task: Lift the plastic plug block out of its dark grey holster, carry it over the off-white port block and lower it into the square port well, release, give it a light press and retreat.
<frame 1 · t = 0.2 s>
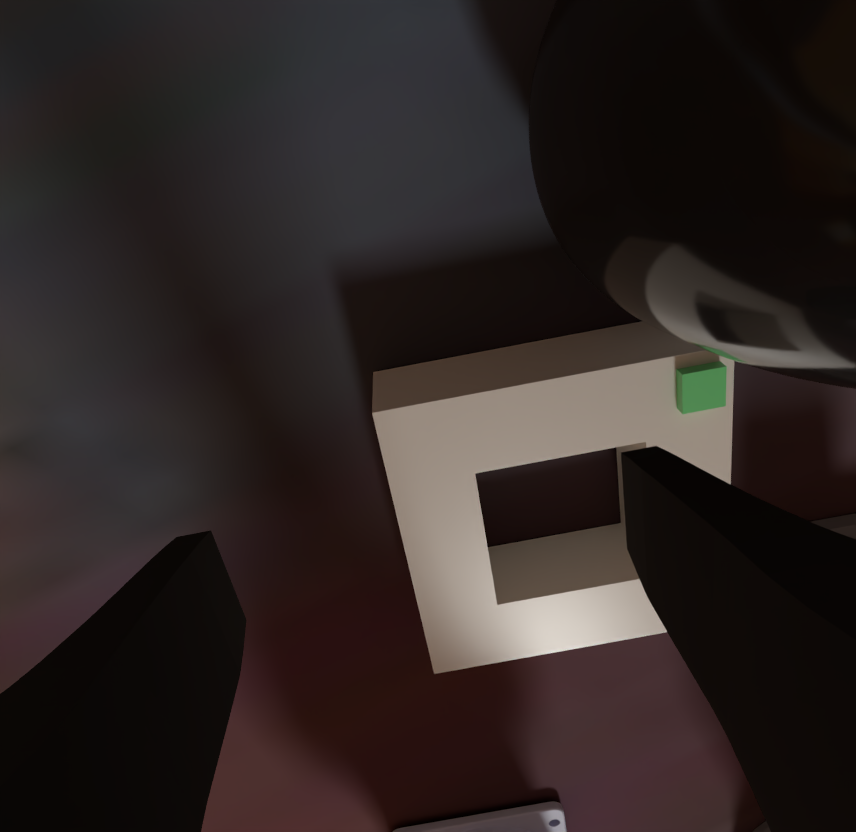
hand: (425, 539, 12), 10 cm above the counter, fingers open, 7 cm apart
port: (545, 477, 23), on the counter
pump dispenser: (684, 102, 18), on the counter
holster: (789, 606, 26), on the counter
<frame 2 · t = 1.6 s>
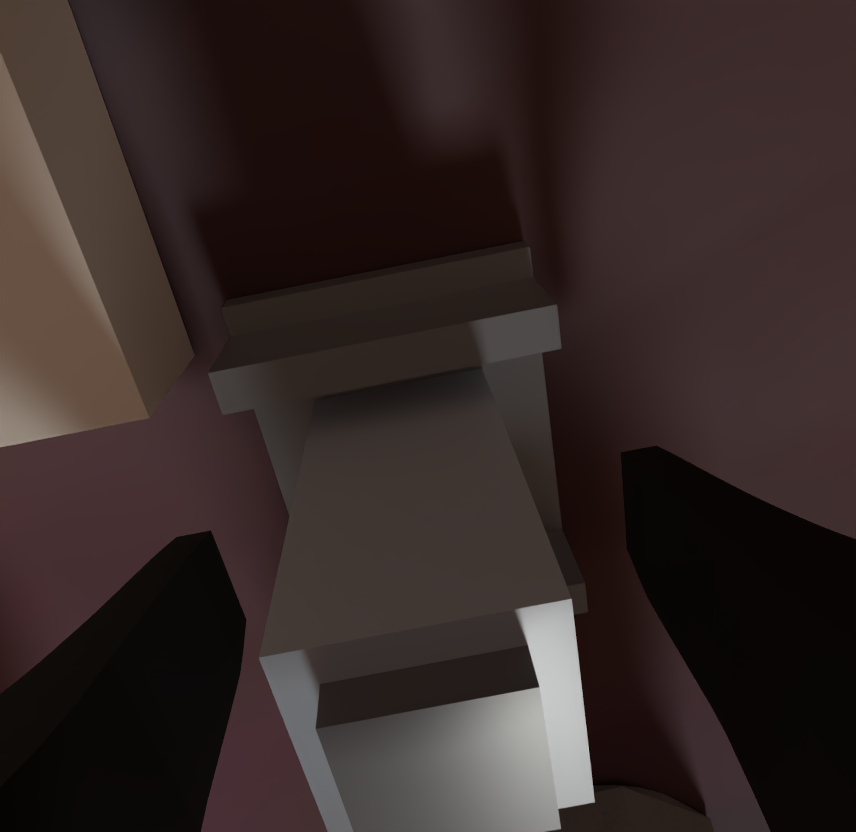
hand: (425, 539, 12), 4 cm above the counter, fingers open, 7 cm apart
plug: (414, 457, 14), point 1 cm above the counter, touching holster
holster: (413, 445, 15), on the counter
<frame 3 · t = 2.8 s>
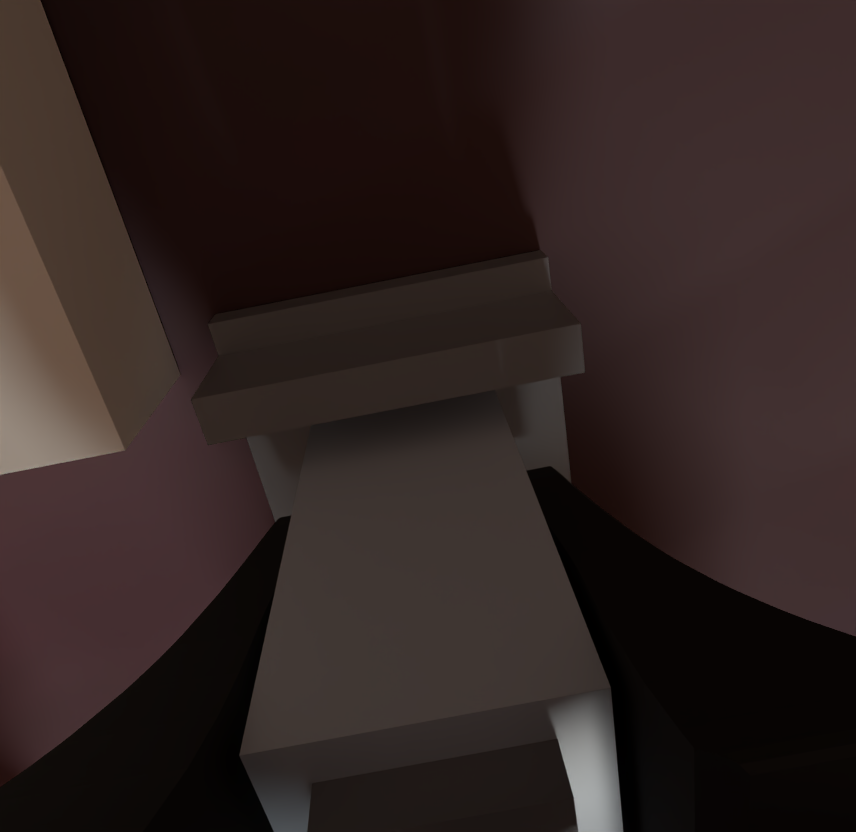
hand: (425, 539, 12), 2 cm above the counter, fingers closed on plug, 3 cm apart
plug: (419, 485, 13), point 1 cm above the counter, touching gripper, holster
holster: (418, 470, 14), on the counter
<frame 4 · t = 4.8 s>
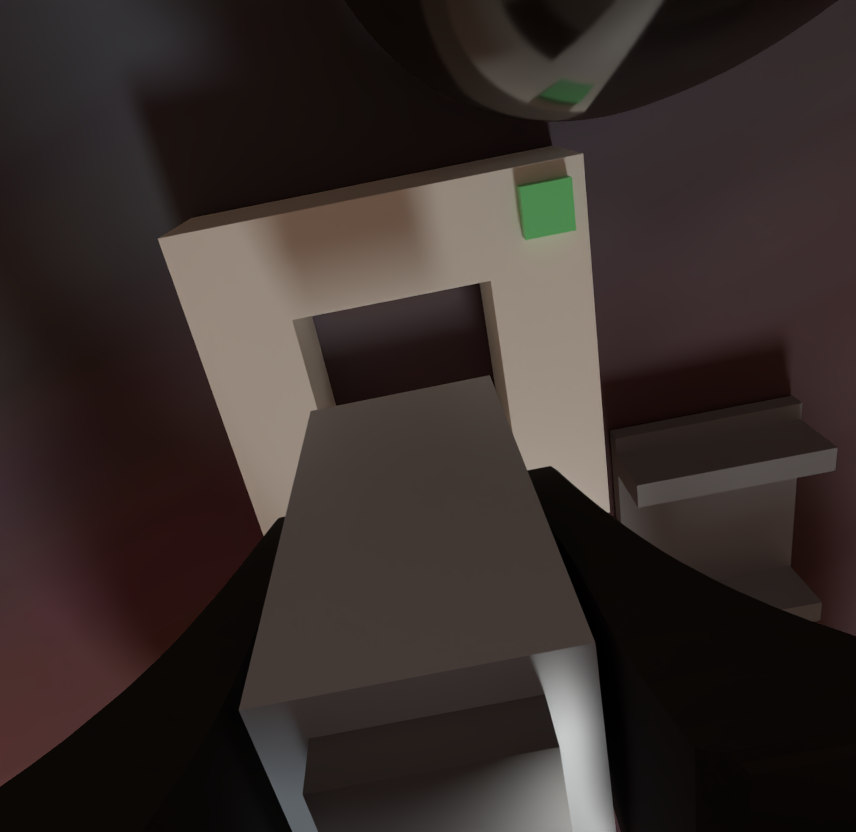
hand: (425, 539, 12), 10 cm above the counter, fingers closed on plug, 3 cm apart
plug: (417, 470, 13), point 7 cm above the counter, touching gripper
port: (406, 352, 20), on the counter
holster: (700, 513, 23), on the counter
when the fingers open (3 cm above the counter, at t = 6.6 s): plug drops 1 cm, resting in port.
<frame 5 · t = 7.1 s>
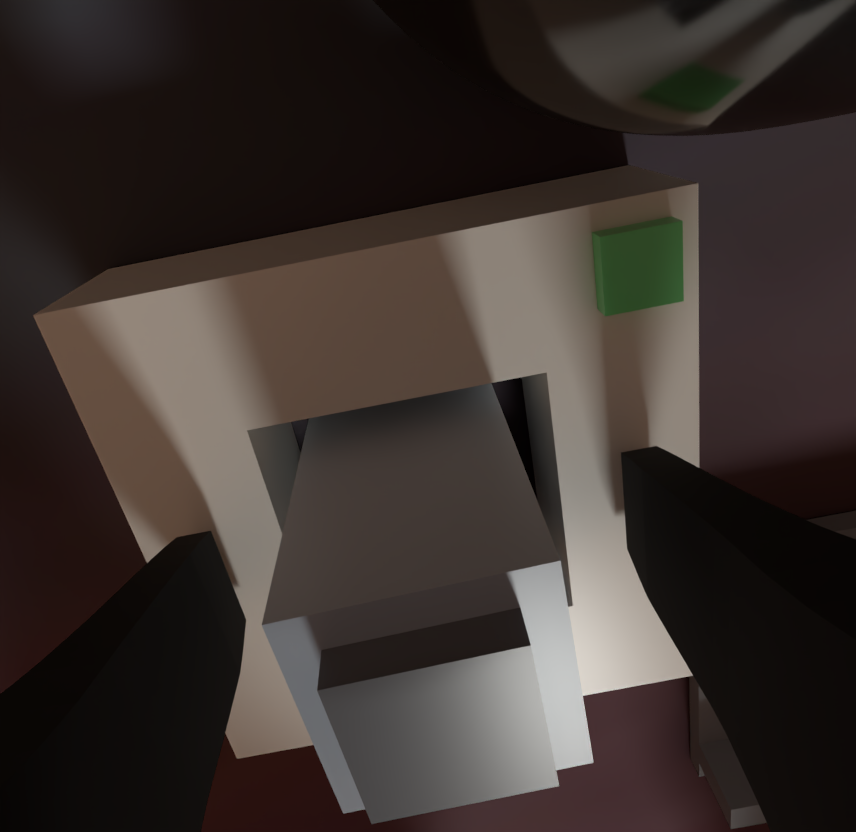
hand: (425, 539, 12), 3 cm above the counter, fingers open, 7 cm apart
plug: (415, 441, 15), resting in port
port: (416, 447, 15), on the counter
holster: (799, 640, 18), on the counter
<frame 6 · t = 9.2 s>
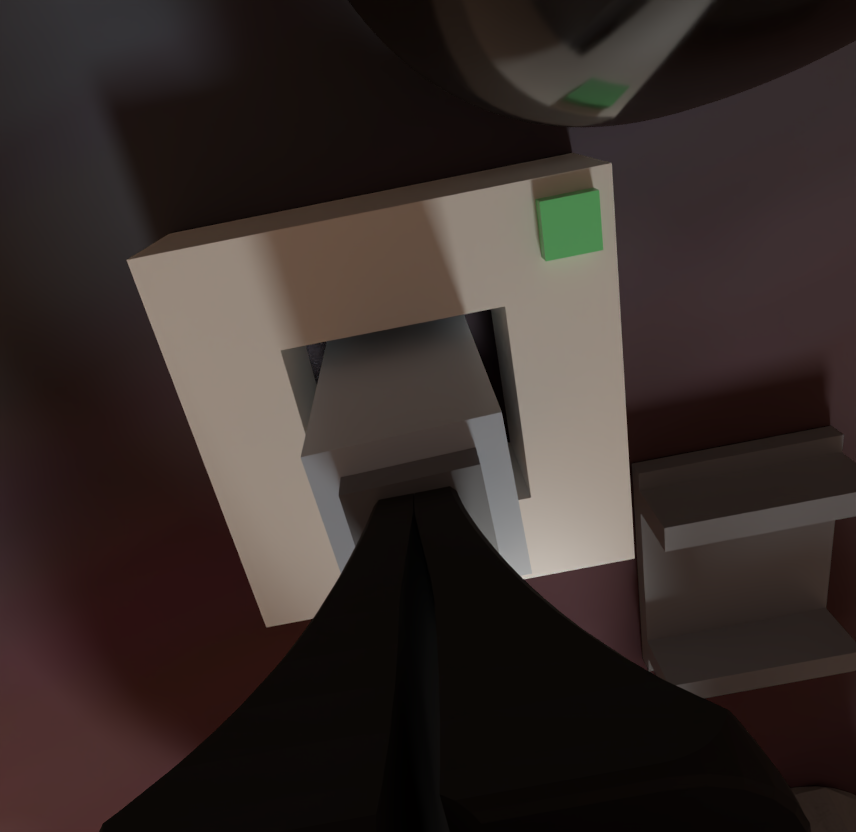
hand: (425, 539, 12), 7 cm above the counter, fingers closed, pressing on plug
plug: (408, 375, 18), resting in port, touching gripper
port: (409, 380, 18), on the counter
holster: (729, 551, 22), on the counter
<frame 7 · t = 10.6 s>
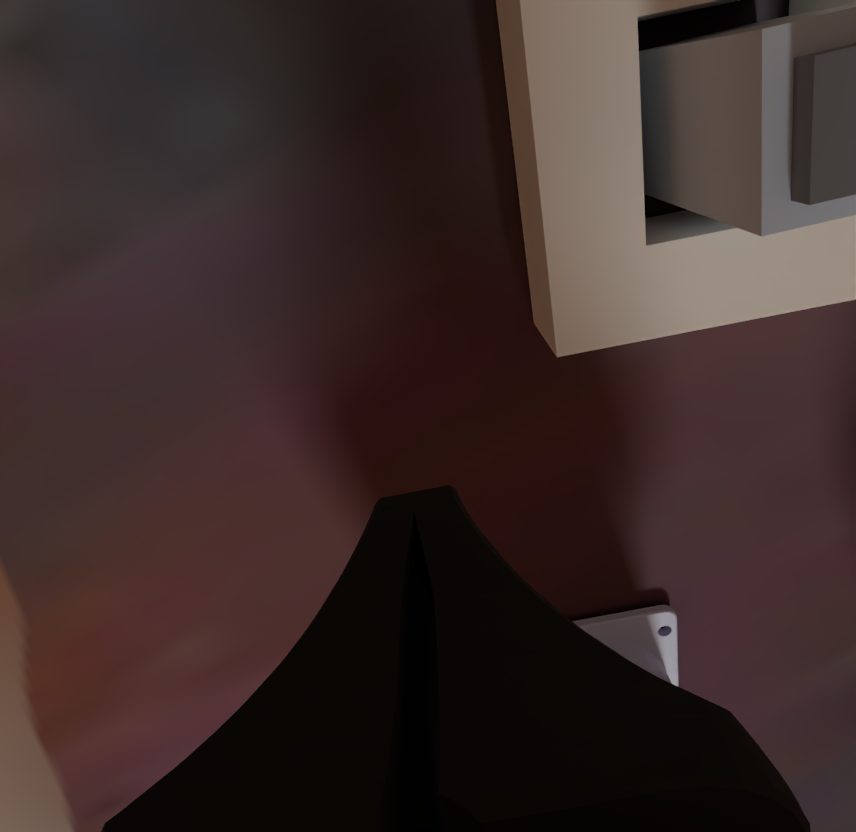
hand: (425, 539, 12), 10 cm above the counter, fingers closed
plug: (693, 110, 18), resting in port
port: (693, 115, 18), on the counter
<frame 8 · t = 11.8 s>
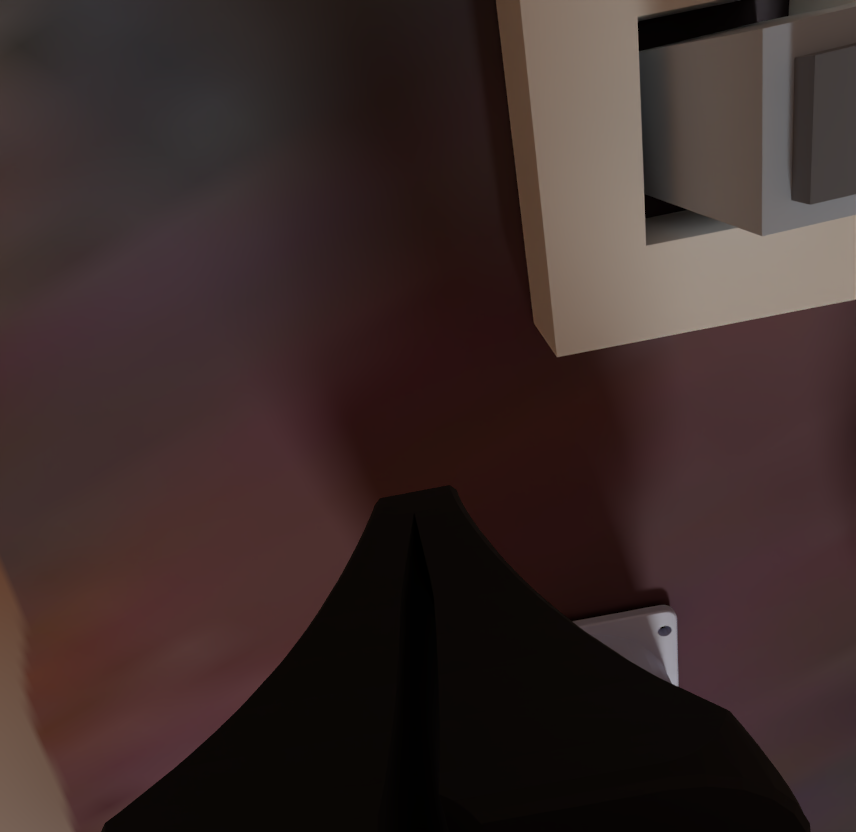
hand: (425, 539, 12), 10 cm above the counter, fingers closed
plug: (693, 110, 18), resting in port
port: (693, 115, 18), on the counter
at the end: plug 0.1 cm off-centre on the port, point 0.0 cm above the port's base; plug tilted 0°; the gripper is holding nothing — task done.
